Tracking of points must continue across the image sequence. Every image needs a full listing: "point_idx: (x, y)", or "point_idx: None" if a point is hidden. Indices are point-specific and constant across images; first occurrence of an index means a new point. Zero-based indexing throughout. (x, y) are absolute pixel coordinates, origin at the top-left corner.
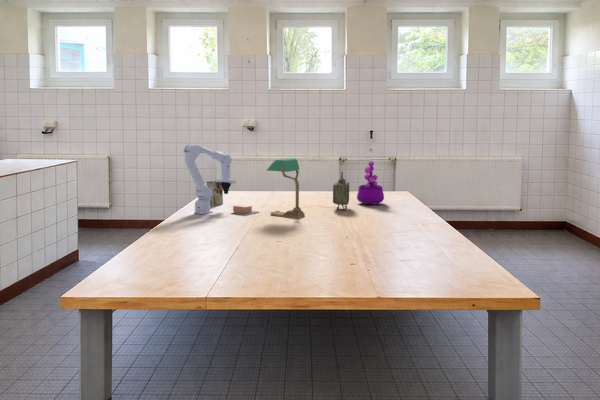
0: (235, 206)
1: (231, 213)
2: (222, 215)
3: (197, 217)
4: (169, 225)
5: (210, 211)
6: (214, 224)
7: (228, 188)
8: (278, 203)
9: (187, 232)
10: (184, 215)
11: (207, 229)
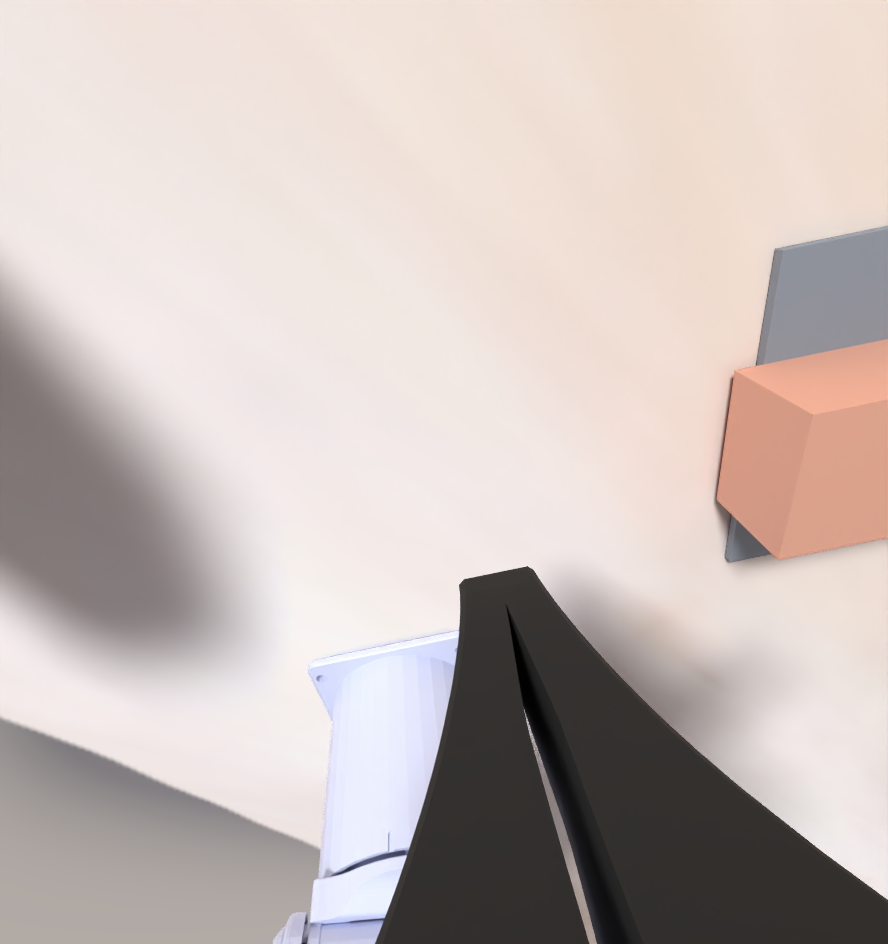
0: (822, 547)
1: (739, 559)
2: (688, 652)
3: (549, 801)
4: (591, 931)
5: (449, 659)
6: (825, 814)
7: (637, 734)
8: None
9: None
10: None
11: (850, 867)
